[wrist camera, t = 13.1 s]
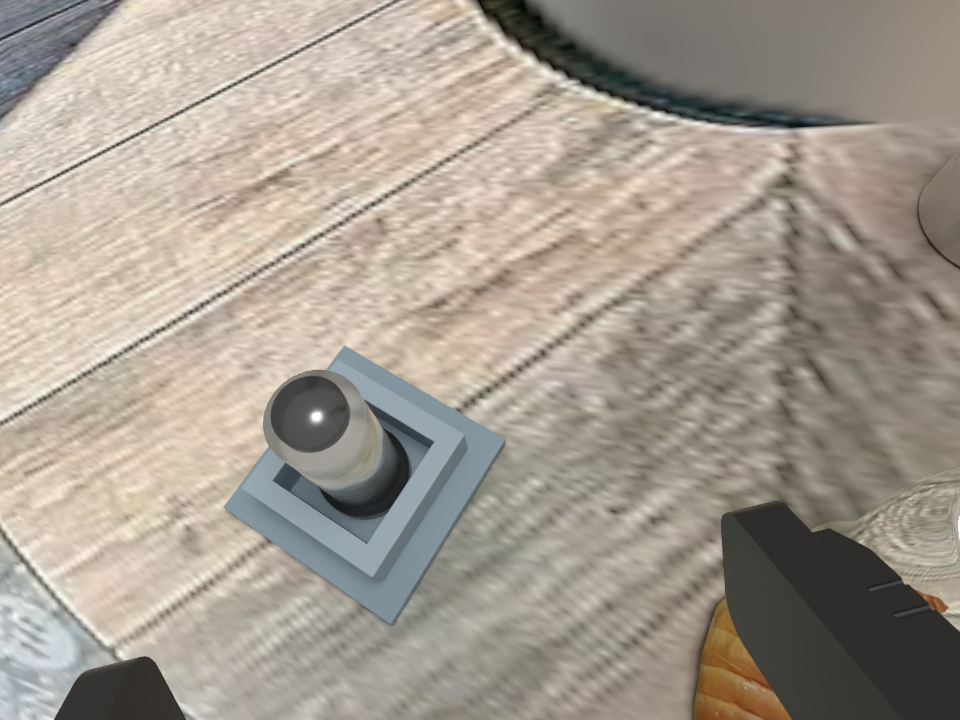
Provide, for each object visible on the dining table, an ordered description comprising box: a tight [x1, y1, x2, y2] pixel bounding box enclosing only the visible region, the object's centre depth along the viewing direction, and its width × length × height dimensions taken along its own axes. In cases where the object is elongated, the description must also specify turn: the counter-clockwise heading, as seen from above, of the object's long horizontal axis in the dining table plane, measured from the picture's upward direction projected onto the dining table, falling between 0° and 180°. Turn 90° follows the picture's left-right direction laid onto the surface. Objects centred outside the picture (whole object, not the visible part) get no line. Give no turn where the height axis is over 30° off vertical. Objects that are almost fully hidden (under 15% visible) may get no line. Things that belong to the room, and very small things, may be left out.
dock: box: [223, 346, 505, 625], centre depth 37 cm, size 12×12×4 cm
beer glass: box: [810, 467, 960, 631], centre depth 29 cm, size 7×7×15 cm
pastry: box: [693, 598, 792, 720], centre depth 32 cm, size 9×7×4 cm
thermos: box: [263, 370, 412, 520], centre depth 33 cm, size 5×5×12 cm
